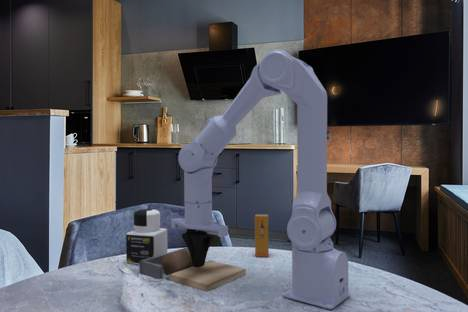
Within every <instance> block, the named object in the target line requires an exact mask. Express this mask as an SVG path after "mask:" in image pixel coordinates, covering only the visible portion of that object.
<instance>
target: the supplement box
mask: <svg viewBox="0 0 468 312" xmlns="http://www.w3.org/2000/svg"><path fill="white" fill-rule="evenodd" d="M269 242H270V241H269V214H267V213H266V214H255V216H254V243H255V245H254V246H255V247H254V248H255V249H254V252H255V253H254V255H255V257H257V258H259V257H260V258H261V257H262V258H263V257H264V258H268V257H269V252H270V251H269V247H270V246H269Z"/></svg>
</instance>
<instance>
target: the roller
mask: <svg viewBox="0 0 468 312" xmlns="http://www.w3.org/2000/svg"><path fill="white" fill-rule="evenodd" d="M184 248H185V249H183V248H181V249H182V250H179V249H178V250H179V251H176V250H175V251H176V252H173V253H170V254H167V255H165V256H164V257H163V258H162V261H161V265H162V266H163V273H165V275H168V276H170V274H172V273H175V272H178V271H181V270H184V269H187V268H190V267H193V263H192V259H191V256H190V252H189V250H188V247H184Z"/></svg>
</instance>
